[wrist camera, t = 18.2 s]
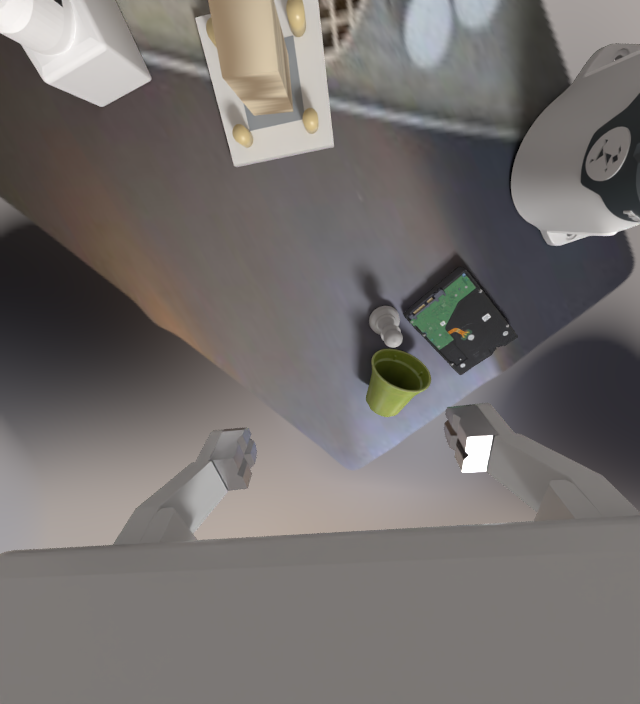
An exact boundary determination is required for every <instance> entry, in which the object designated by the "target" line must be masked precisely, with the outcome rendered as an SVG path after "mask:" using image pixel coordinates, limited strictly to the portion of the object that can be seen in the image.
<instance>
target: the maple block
mask: <svg viewBox="0 0 640 704" xmlns="http://www.w3.org/2000/svg"><path fill="white" fill-rule="evenodd" d="M208 3H209V8H210V14H211V19H212V25H213V30H214V36H215V41H216V46H217V52H218V57H219V63H220V68H221V74H222V78H223V79H224V80H225V81H226V83H227V84H228V85H229V86H230V87H231V89H232V90H233V91H234V92H235V93H236V95H237V96H238V97H239V98H240V99H241V101H242V102H243V103H244V104H245V105H246V107H247V108H248V109H249V110H250V111H251V113H252V114H253V115H254V116H256V115H266V114H275V113H285V112H293V101H292V90H291V79H290V68H289V57H288V52H287V48H286V44H285V40H284V37H283V33H282V29H281V25H280V22H279V18H278V14H277V10H276V6H275V3H274V0H208Z"/></svg>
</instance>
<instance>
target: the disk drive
mask: <svg viewBox="0 0 640 704" xmlns="http://www.w3.org/2000/svg"><path fill="white" fill-rule="evenodd" d="M403 314H404V316H405V318H406V319H407V320H408V321H409V322H410V323H411V324H412V325H413V327H414V328H415V329H416V330H417V331H418V332H419V333H420V334H421V335H422V336H423V337H424V338H425V339H426V340H427V341H428V342H429V343H430V344H431V346H432V347H433V348H434V349H435V350H436V351H437V352H438V353H439V354H440V355H441V356H442V357H443V358H444V359H445V360H446V361H447V362H448V363H449V364H450V366H451V367H452V368H453V369H454V370H455V371H456V372H457V373H458V374H459V375H462V374H463V373H465V372H466V371H468V370H469V369H471V368H472V367H474V366H475V365H477V364H478V363H480V362H481V361H483V360H485V359H486V358H488V357H489V356H491V355H492V353H493V352H494V351H495V350H496V347H500V346H506V345H507V344H509V343H510V342H511V341H513V340H515V339H516V338H518V336H517V334H516V333H515V331H514V330H513V328H512V327H511V326H510V325H509V324H508V322H507V321H506V320H505V319H504V317H503V316H502V315H501V313H500V312H499V311H498V310H497V308H496V307H495V306H494V304H493V303H492V302H491V301H490V299H489V298H488V297H487V295H486V294H485V293H484V291H483V290H482V289H481V288H480V286H479V285H478V283H477V282H476V280H475V279H473V277H472V276H471V275H470V273H469V272H468V271H467V270H466V269H464V268H461V267H458V268H457V269H455V270H454V271H453V272H452V273H451V274H450V275H448V276H447V277H446V278H445V279H444V280H442V281H441V282H440V283H439V284H438V285H436V286H435V287H434V288H433V289H432V290H431V291H430V292H428V293H427V294H426V295H425V296H423V297H422V298H421V299H420V300H419V301H417V302H416V303H415V304H414V305H413V306H412V307H410V308H409V309H408V310H407V311H406V312H404V313H403Z"/></svg>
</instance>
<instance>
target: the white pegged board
mask: <svg viewBox="0 0 640 704" xmlns="http://www.w3.org/2000/svg"><path fill="white" fill-rule="evenodd" d="M274 3H275V6H276V10H277V14H278V18H279V22H280V25H281V29H282V33H283V37H284V40H285V44H286V48H287V52H288V57H289V68H290V79H291V90H292V101H293V112H285V113H275V114H266V115H256V116H254V115H253V114H252V113H251V111H250V110H249V109H248V108H247V107H246V105H245V104H244V103H243V102H242V101H241V99H240V98H239V97H238V96H237V95H236V93H235V92H234V91H233V90H232V89H231V87H230V86H229V85H228V84H227V83H226V81H225V80H224V79H223V78H222V74H221V68H220V63H219V57H218V52H217V46H216V41H215V36H214V30H213V25H212V19H211V14H207V15H203V16H200V17H196V18H195V19H196V23H197V27H198V31H199V34H200V38H201V42H202V46H203V50H204V53H205V57H206V61H207V65H208V69H209V72H210V76H211V80H212V84H213V88H214V91H215V95H216V99H217V103H218V106H219V110H220V114H221V118H222V122H223V125H224V129H225V133H226V137H227V141H228V144H229V148H230V152H231V156H232V160H233V163H234V166H236V167H240V166H245V165H250V164H254V163H259V162H264V161H269V160H274V159H279V158H283V157H288V156H293V155H298V154H303V153H307V152H312V151H317V150H322V149H327V148H332V147H334V142H333V133H332V124H331V114H330V105H329V96H328V87H327V78H326V68H325V59H324V50H323V41H322V32H321V22H320V13H319V4H318V0H274Z"/></svg>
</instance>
